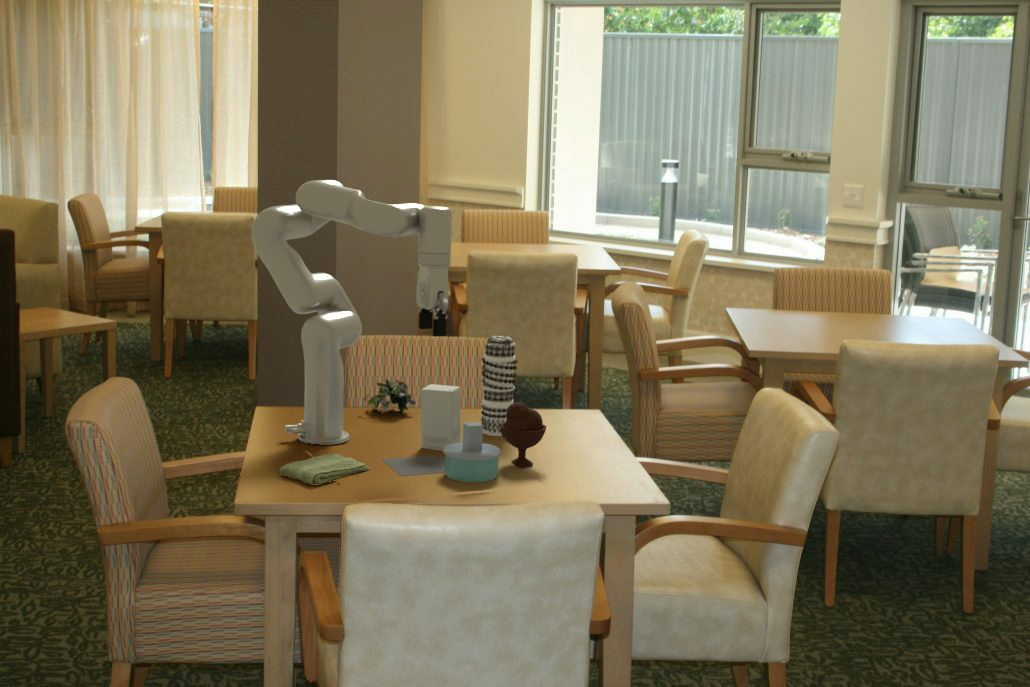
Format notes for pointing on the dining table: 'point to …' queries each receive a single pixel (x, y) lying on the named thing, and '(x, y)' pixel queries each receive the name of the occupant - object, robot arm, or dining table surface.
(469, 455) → the lid
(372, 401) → the green leafy plant
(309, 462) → the washcloth
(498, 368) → the decorative candle
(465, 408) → the dining table surface
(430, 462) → the mat
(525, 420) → the ice cream bowl
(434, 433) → the skincare box
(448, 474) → the bowl
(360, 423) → the dining table surface
